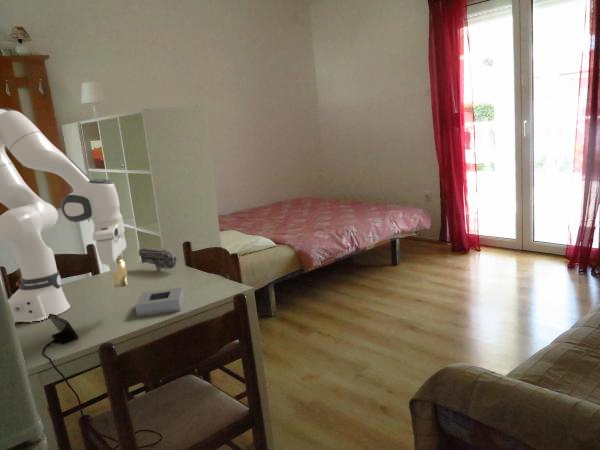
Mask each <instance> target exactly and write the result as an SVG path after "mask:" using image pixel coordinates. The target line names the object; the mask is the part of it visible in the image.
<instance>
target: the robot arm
mask: <svg viewBox="0 0 600 450" xmlns="http://www.w3.org/2000/svg"><path fill="white" fill-rule="evenodd" d="M6 148H7V149H8V151H9V152H10V153H11V154H12V156H13V157H14V158H15V159H16V160H17V161H18V162H19V163H21V164H22V165H23V167H26V168H28V169H30V170H37V171H41V172H42V171H44V172H48V173H52V174H55V175H56V176H59V177H61V178H62V179H64V181H65V182H66V183H67V184H68V185H69V186H70V187H71V188H72V189H73V190H74V191H73V192H71V193H69V194H67V195H65V196H64V197H63V198H62V199H61V203H60V210H61V213H62V215H63V217H65V219H66V220H68V221H69V222H73V223H80V222H81V223H82V222H84V221H88V220H92V221H93V226H94V229H93V232H92V239H93V241H94V242H95V245H96V249H97V250H96V251H97V254H98V257H99V260H100V262H101V264H102V265H107V264H108V266H109V265H110V267H111V270H112V272H113V273H116V272H118V270H119V269H118V266H117V264H116V259H119V258H122V259H123V253H124V251H125V250H126V249H127V241H126V237H125V231H126V230H125V224H124V219H123V215H122V213H121V209H120V206H121V205H120V204H121V203H120V199H119V194H118V192H117V191H118V190H117V189H116V185H115V183H114V182H113V181H112V180H109V179H107V178H98V179H97V178H95V179H91V178H90V177H89V176H88V175H87V174H86V173H85V172H84V171H83V170H82V169H81V168H80V167H79V166H78V165H77V163H75V162H74V161H73V160H72V159H71V158H70V157H69V156H68V155H66V154H65V153H63V152H62V151H61V150H60V149H59V148H57V147H56V146H55V144H53V143H52V142H51V141H50V140H49V139H48V138H47V137H46V136H45V135H44V134H43V132H41V130H40V129H39V128H38V127H37V125H35V124H34V123H33V122H32V121H31V120H30V119H29V118H27V116H25V115H24V114H23V113H21V112H20V111H18V110H15V109H13V108H9V107H7V108H6V107H0V204H2V205H4V206H5V207H6V208H7V209H8V210H7V211H5V212H4V213H2V214H0V240H2V241H3V242H5V243H7V244H8V246H10V248H11V249H12V251H13V253H14V254H15V256H16V259H17V261H18V266H19V270H20V273H21V276H20V278H19V279H17V281H16V282H15V284H16V285H15V286H16V287H17V286H18V289H17V290H16V291H15V292H14V293H13V294H12V295H11V296H10V298H8V299H7V301H8V303H9V306H10V309H11V312H12V315H13V318H14V321H24V322H30V323H33V322H32V321H40V322H42V321H41V320H43V321H45V320H47V319H49V318H48V316H49V314H54V315H56V316H58V315H60V314H62V313H65V312H67V311H68V310H69V309H70V308H71V304H70V303H69V302H68V300H67V297H66V295H65V293H64V290H63V288H62V278H61V275H60V270H58V268H57V263H56V259H55V254H54V251H53V249H52V248H51V247H49V246H47V244H46V243H45V242H44V240H43V238H42V233H43V234H44V233H46V232H47V231H49V230H50V229H51V228H53V227H54V226H55V225H56V223H57V221H58V218H59V213H58V211H57V208H56V207H55V206H54V205H52V204H50V203H49V202H46V201H44V200H43V199H42V198H41V197H40V196H38V194H37V193H35V192H34V191H33V190H32V189H31V187H29V185H28V184H27V183H26V182H25V181H24V178H23V177H22V176H21V175H20V173H19V172H18V170H17V168H16V166H15V164H14V163H13V162H12V160H11V159H10V157H9V156H8V154H7V152H6ZM46 318H47V319H46ZM44 319H45V320H44Z"/></svg>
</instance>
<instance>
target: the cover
mask: <svg viewBox="0 0 600 450" xmlns="http://www.w3.org/2000/svg"><path fill="white" fill-rule="evenodd" d="M116 264H117V266H118V269H119V270H118V272H116V273H113V272H112V270H111V267H110V265H109V264H108V266H109V272H110V276H111V277H110V278H111V281H112V287H113V288H115V289H116V288H123V287H126V286H128V285H130V281H129V276H128V271H127V266H126V261H125V259H124V258H123V257H122V258H119V259H116Z"/></svg>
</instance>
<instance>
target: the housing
mask: <svg viewBox="0 0 600 450" xmlns="http://www.w3.org/2000/svg"><path fill="white" fill-rule="evenodd" d="M184 300H185V296H184V290H183V287H175V288H168V289H167V288H166V289H162V290H160V289H159V290H154V291H146V292H145V291H144V292H141V293H140V295H139V297H138V299H137V301H136V303H135V304H134V307H135V312H136V317H137V318H139V317H145V316H146V317H147V316H155V315H159V314H160V315H161V314H168V313H169V314H170V313H174V312H181V310H182V307H183V303H184Z"/></svg>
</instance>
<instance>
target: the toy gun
mask: <svg viewBox="0 0 600 450" xmlns="http://www.w3.org/2000/svg"><path fill="white" fill-rule="evenodd" d="M138 256H139V257H140V259H141V263H142V264H145V263H147V264H151V265H155V268H156V270H157V271H160V270H162V269H164V270H168V269H169V270H171V269H174V268H175V266H176V265H177V261H178V258H177V256H176V255H174V254H173V253H171V251H170V250H168V249H167V248H164V249H162V248H161V249H160V248H148V247H141V248H139V250H138Z"/></svg>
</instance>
